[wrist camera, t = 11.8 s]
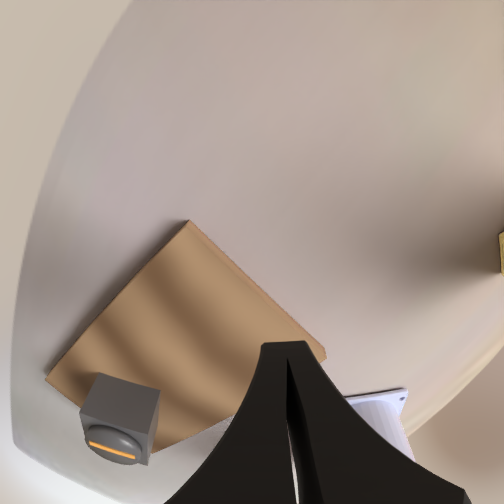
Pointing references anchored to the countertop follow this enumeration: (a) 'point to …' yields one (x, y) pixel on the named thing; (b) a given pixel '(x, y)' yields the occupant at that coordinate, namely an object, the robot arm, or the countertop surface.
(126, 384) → the knob
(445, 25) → the countertop surface
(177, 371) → the parts board
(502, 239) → the candy box
